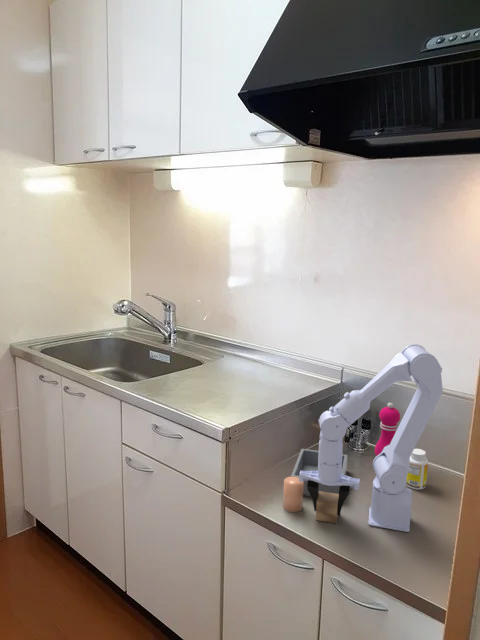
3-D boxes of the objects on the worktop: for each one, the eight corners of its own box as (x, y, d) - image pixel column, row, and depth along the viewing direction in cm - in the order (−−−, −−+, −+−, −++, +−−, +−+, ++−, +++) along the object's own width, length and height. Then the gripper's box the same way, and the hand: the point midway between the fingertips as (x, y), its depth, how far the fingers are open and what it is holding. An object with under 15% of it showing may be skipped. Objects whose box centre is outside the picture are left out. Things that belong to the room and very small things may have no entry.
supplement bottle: (420, 480, 144) (423, 446, 142) (429, 490, 138) (432, 455, 136) (401, 480, 143) (404, 447, 141) (410, 491, 138) (413, 456, 136)
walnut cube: (338, 512, 127) (339, 494, 126) (336, 523, 122) (337, 504, 121) (318, 509, 128) (319, 491, 127) (315, 519, 123) (316, 501, 122)
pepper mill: (395, 473, 148) (400, 408, 144) (370, 467, 151) (375, 404, 147) (400, 463, 154) (405, 401, 150) (377, 457, 157) (381, 397, 154)
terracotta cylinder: (303, 502, 131) (305, 478, 130) (300, 513, 126) (301, 487, 125) (285, 499, 132) (285, 475, 131) (281, 509, 128) (282, 484, 126)
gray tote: (346, 470, 149) (347, 454, 148) (341, 501, 132) (342, 483, 131) (300, 464, 152) (301, 448, 151) (290, 493, 136) (290, 476, 135)
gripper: (361, 456, 124) (358, 507, 127) (303, 449, 128) (301, 497, 130) (360, 470, 117) (356, 522, 120) (298, 461, 121) (296, 512, 124)
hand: (327, 510), depth 125 cm, fingers closed on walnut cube, 5 cm apart
